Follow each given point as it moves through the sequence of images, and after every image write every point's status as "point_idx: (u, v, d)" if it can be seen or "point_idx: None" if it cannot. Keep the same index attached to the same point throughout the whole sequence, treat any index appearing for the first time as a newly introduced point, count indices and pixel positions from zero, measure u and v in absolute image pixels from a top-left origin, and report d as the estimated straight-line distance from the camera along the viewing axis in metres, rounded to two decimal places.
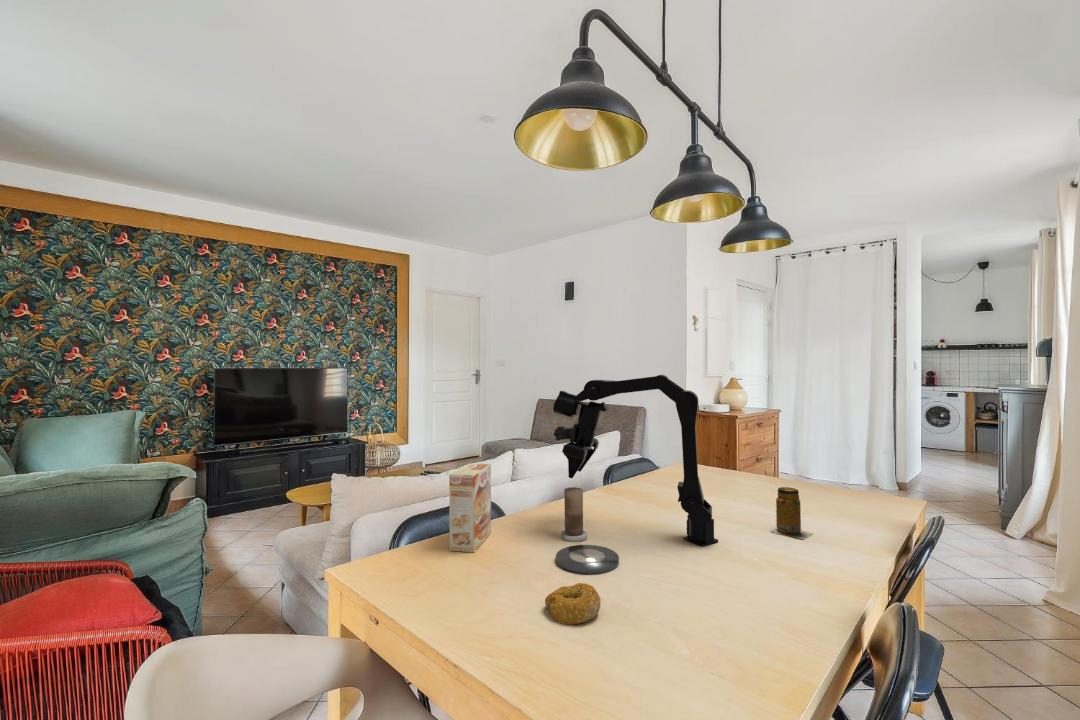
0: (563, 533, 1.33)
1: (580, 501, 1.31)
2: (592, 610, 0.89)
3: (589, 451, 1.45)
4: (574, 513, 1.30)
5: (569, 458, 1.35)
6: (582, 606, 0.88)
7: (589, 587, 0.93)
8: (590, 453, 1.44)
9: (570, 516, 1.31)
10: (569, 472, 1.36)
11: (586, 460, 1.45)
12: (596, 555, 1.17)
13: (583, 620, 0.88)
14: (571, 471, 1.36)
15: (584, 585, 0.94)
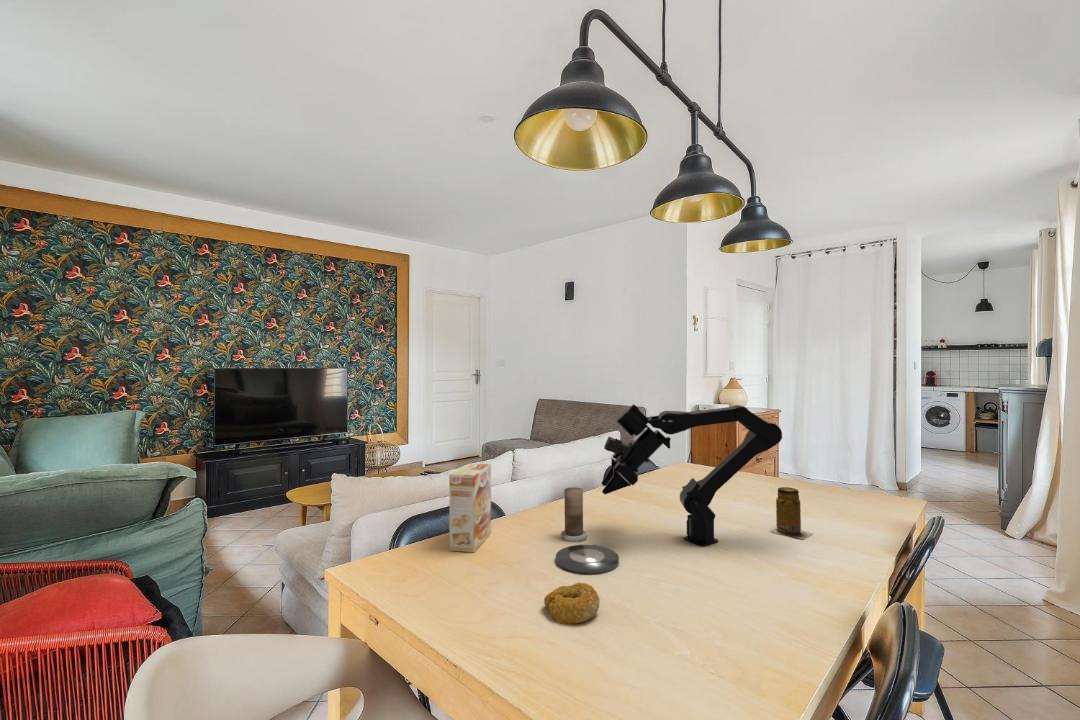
0: (563, 533, 1.33)
1: (580, 501, 1.31)
2: (591, 610, 0.89)
3: None
4: (574, 513, 1.30)
5: (615, 476, 1.26)
6: (581, 606, 0.88)
7: (588, 587, 0.93)
8: None
9: (570, 516, 1.31)
10: (606, 488, 1.27)
11: None
12: (596, 555, 1.17)
13: (582, 620, 0.88)
14: (608, 488, 1.27)
15: (583, 585, 0.94)
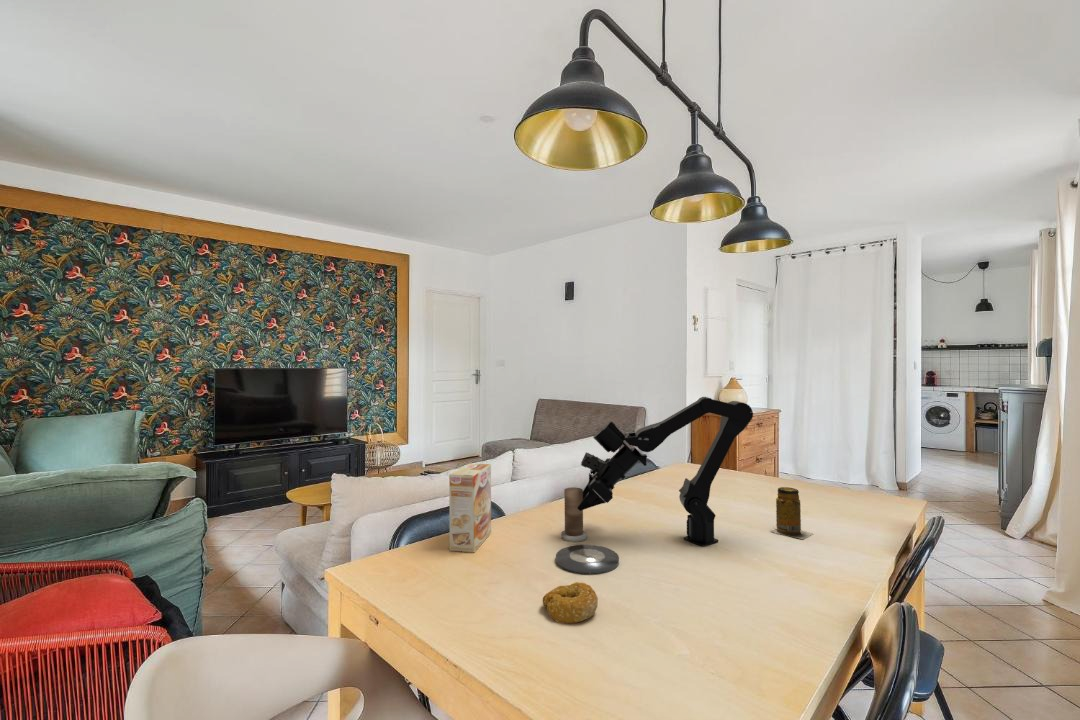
0: (563, 533, 1.33)
1: (580, 501, 1.31)
2: (589, 609, 0.89)
3: None
4: (574, 513, 1.30)
5: (590, 493, 1.26)
6: (579, 605, 0.89)
7: (586, 587, 0.93)
8: None
9: (570, 516, 1.31)
10: (581, 504, 1.27)
11: None
12: (596, 555, 1.17)
13: (580, 619, 0.88)
14: (584, 504, 1.27)
15: (581, 584, 0.95)
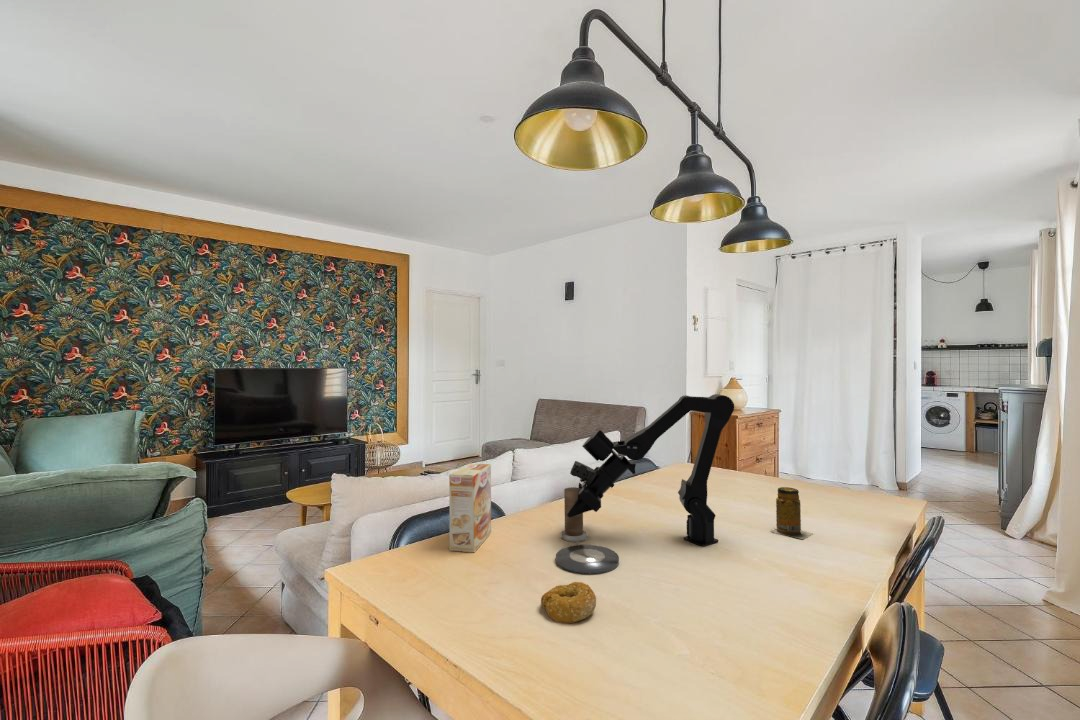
0: (563, 533, 1.33)
1: None
2: (588, 609, 0.89)
3: None
4: None
5: (579, 500, 1.28)
6: (578, 605, 0.89)
7: (585, 586, 0.93)
8: None
9: None
10: (570, 511, 1.30)
11: None
12: (596, 555, 1.17)
13: (579, 619, 0.88)
14: (573, 511, 1.29)
15: (580, 584, 0.95)
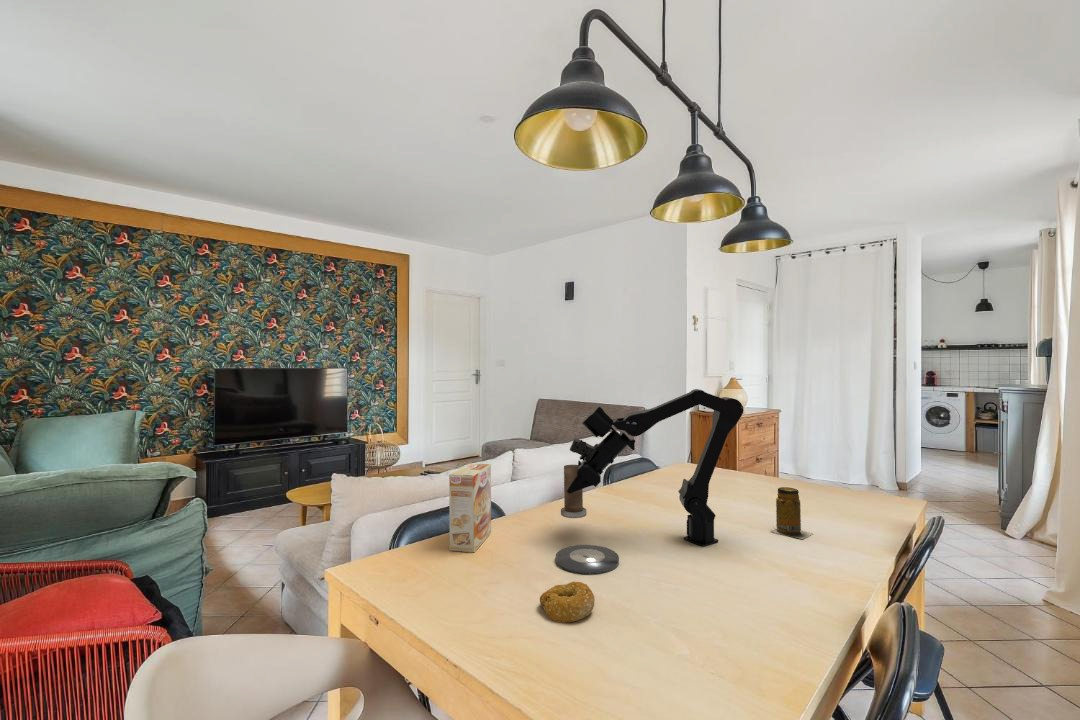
0: (563, 510, 1.33)
1: None
2: (586, 608, 0.89)
3: None
4: None
5: (579, 476, 1.28)
6: (576, 604, 0.89)
7: (583, 586, 0.94)
8: None
9: None
10: (570, 487, 1.30)
11: None
12: (596, 555, 1.17)
13: (577, 618, 0.89)
14: (573, 487, 1.30)
15: (578, 583, 0.95)
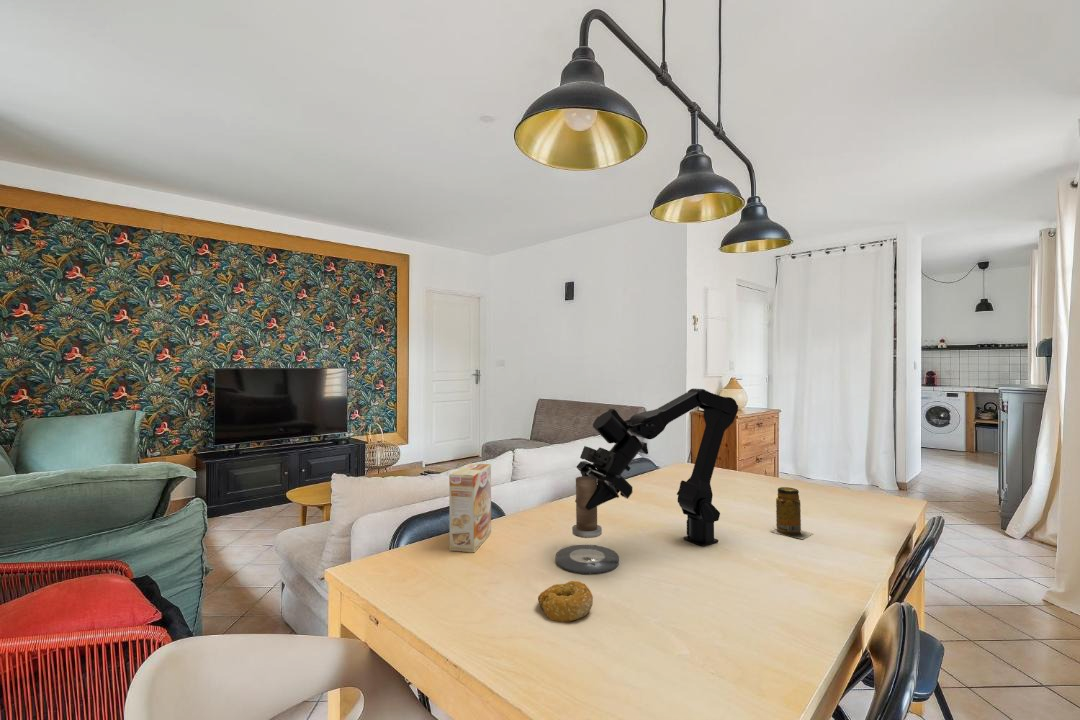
0: (577, 530, 1.15)
1: None
2: (585, 607, 0.90)
3: None
4: None
5: (602, 488, 1.13)
6: (574, 604, 0.89)
7: (581, 585, 0.94)
8: None
9: None
10: (590, 503, 1.14)
11: None
12: (596, 555, 1.17)
13: (575, 617, 0.89)
14: (593, 502, 1.14)
15: (576, 583, 0.95)
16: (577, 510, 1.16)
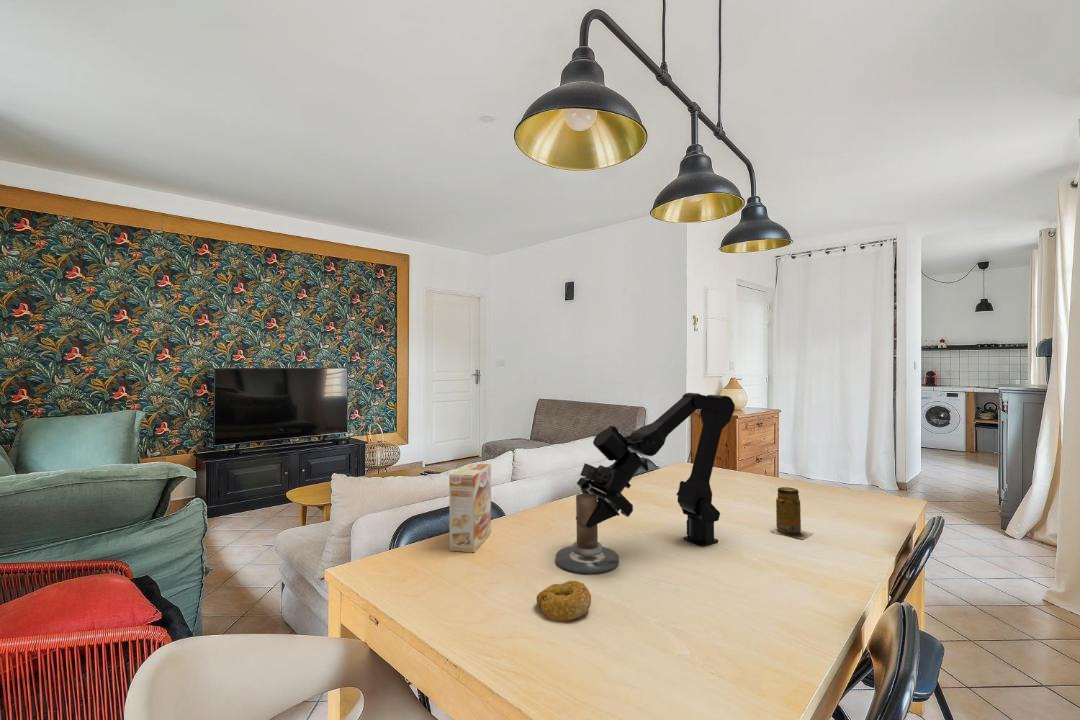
0: (577, 547, 1.15)
1: None
2: (583, 607, 0.90)
3: None
4: None
5: (602, 506, 1.13)
6: (573, 603, 0.89)
7: (580, 585, 0.94)
8: None
9: None
10: (591, 521, 1.13)
11: None
12: (596, 555, 1.17)
13: (574, 617, 0.89)
14: (594, 520, 1.14)
15: (575, 582, 0.95)
16: (577, 528, 1.16)
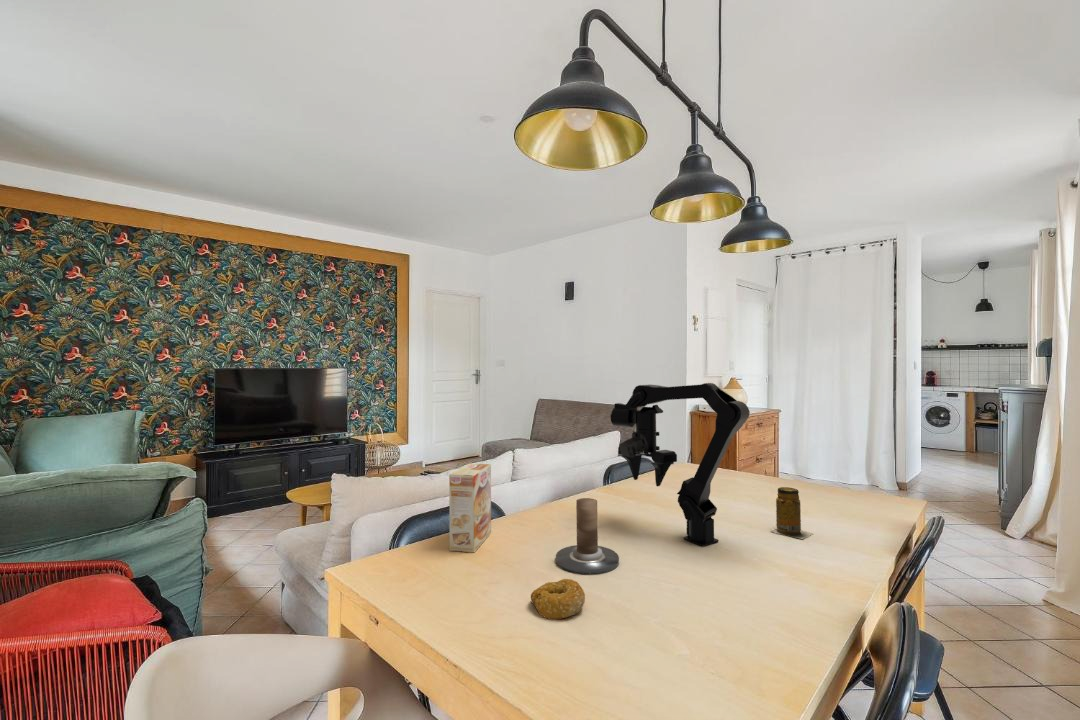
0: (577, 552, 1.15)
1: None
2: (577, 605, 0.91)
3: (638, 456, 1.45)
4: (592, 527, 1.14)
5: (659, 467, 1.34)
6: (567, 601, 0.90)
7: (574, 583, 0.95)
8: (639, 458, 1.45)
9: (588, 532, 1.14)
10: (658, 481, 1.35)
11: (639, 466, 1.45)
12: None
13: (568, 615, 0.90)
14: (660, 479, 1.35)
15: (569, 581, 0.96)
16: (578, 533, 1.16)
